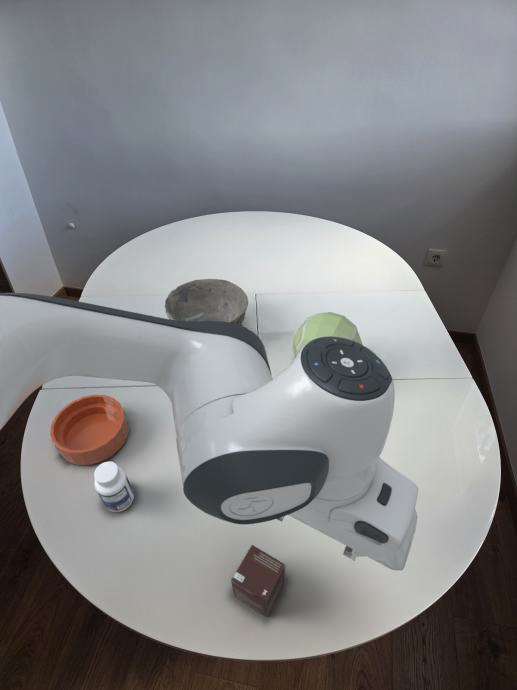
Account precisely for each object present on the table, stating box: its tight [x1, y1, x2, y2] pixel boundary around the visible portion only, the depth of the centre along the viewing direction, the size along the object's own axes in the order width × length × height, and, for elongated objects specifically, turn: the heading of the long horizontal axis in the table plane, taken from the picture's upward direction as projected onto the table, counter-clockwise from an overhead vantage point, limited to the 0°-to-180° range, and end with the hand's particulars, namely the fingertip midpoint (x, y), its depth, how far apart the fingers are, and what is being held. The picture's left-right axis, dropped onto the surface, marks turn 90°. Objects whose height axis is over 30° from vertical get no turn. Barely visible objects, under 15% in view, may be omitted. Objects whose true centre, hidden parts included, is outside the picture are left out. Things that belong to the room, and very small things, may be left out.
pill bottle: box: [93, 461, 135, 513], centre depth 76 cm, size 5×5×10 cm
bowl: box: [164, 278, 249, 326], centre depth 110 cm, size 21×21×10 cm
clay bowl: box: [49, 394, 130, 466], centre depth 88 cm, size 14×14×5 cm
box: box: [230, 544, 286, 618], centre depth 66 cm, size 6×6×7 cm
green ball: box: [292, 311, 364, 359], centre depth 98 cm, size 15×15×15 cm
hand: (314, 532), depth 52 cm, fingers open, 8 cm apart
